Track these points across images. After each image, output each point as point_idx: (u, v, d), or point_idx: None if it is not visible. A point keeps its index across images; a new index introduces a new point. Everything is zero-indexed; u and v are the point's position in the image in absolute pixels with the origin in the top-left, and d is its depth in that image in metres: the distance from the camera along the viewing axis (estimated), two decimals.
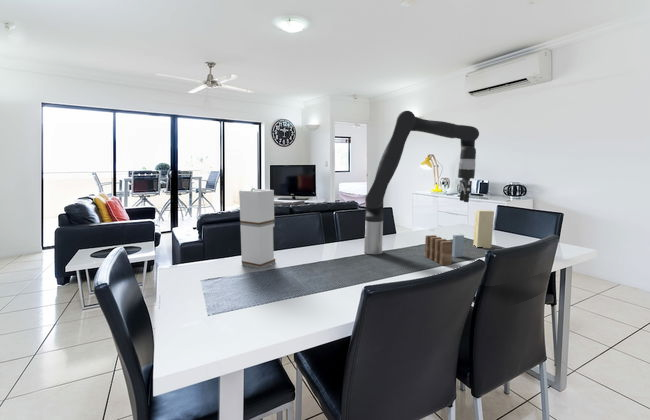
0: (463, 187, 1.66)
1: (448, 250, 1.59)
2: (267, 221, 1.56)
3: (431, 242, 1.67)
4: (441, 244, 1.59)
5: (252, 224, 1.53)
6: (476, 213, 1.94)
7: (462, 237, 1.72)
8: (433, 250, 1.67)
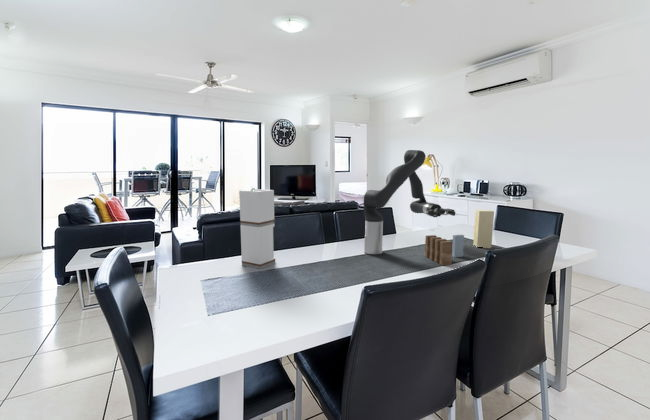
0: (446, 209, 1.89)
1: (448, 250, 1.59)
2: (267, 221, 1.56)
3: (431, 242, 1.67)
4: (441, 244, 1.59)
5: (252, 224, 1.53)
6: (476, 213, 1.94)
7: (462, 237, 1.72)
8: (433, 250, 1.67)
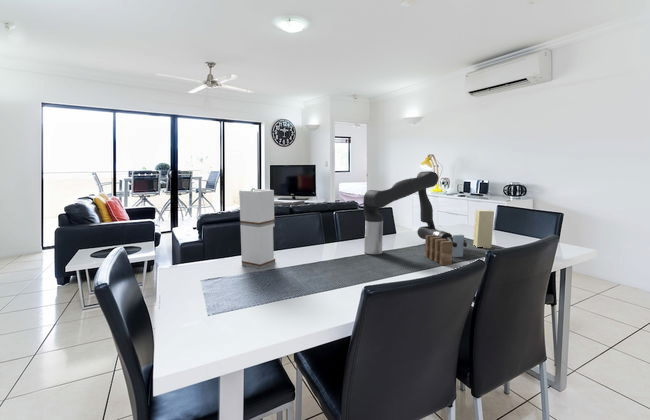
0: None
1: (448, 250, 1.59)
2: (267, 221, 1.56)
3: (431, 242, 1.67)
4: (441, 244, 1.59)
5: (252, 224, 1.53)
6: (476, 213, 1.94)
7: (462, 237, 1.72)
8: (433, 250, 1.67)
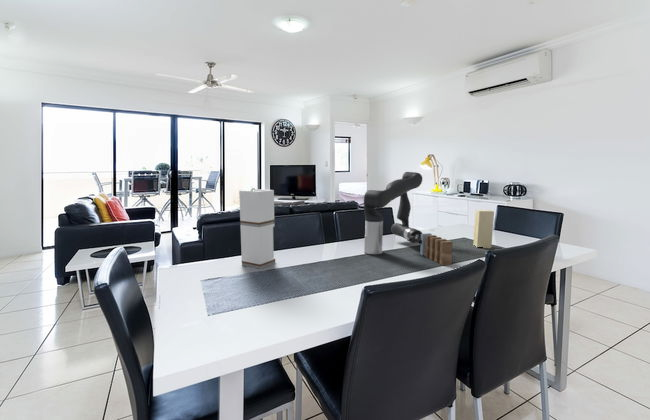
0: None
1: (448, 250, 1.59)
2: (267, 221, 1.56)
3: (431, 242, 1.67)
4: (441, 244, 1.59)
5: (252, 224, 1.53)
6: (476, 213, 1.93)
7: None
8: (433, 250, 1.67)
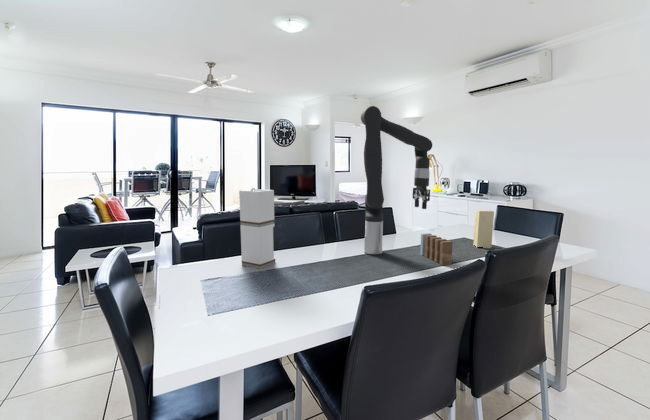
0: (421, 195, 1.77)
1: (448, 250, 1.59)
2: (267, 221, 1.56)
3: (431, 242, 1.67)
4: (441, 244, 1.59)
5: (252, 224, 1.53)
6: (476, 213, 1.94)
7: None
8: (433, 250, 1.67)
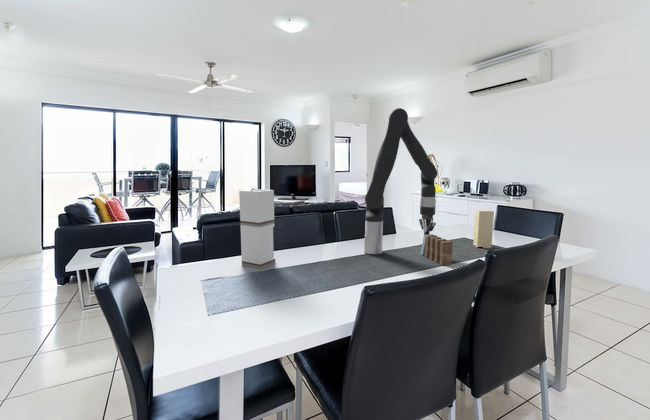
0: (426, 225, 1.74)
1: (448, 250, 1.59)
2: (267, 221, 1.56)
3: (431, 242, 1.67)
4: (441, 244, 1.59)
5: (252, 224, 1.53)
6: (476, 213, 1.93)
7: None
8: (433, 250, 1.67)
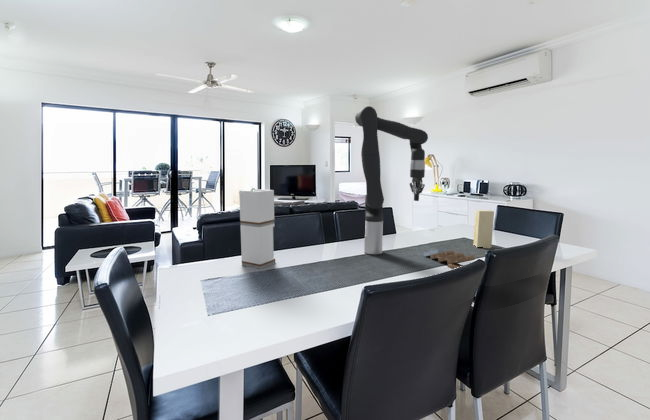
0: (415, 187, 1.83)
1: None
2: (267, 221, 1.56)
3: (452, 256, 1.56)
4: None
5: (252, 224, 1.53)
6: (476, 213, 1.93)
7: None
8: (447, 259, 1.59)
